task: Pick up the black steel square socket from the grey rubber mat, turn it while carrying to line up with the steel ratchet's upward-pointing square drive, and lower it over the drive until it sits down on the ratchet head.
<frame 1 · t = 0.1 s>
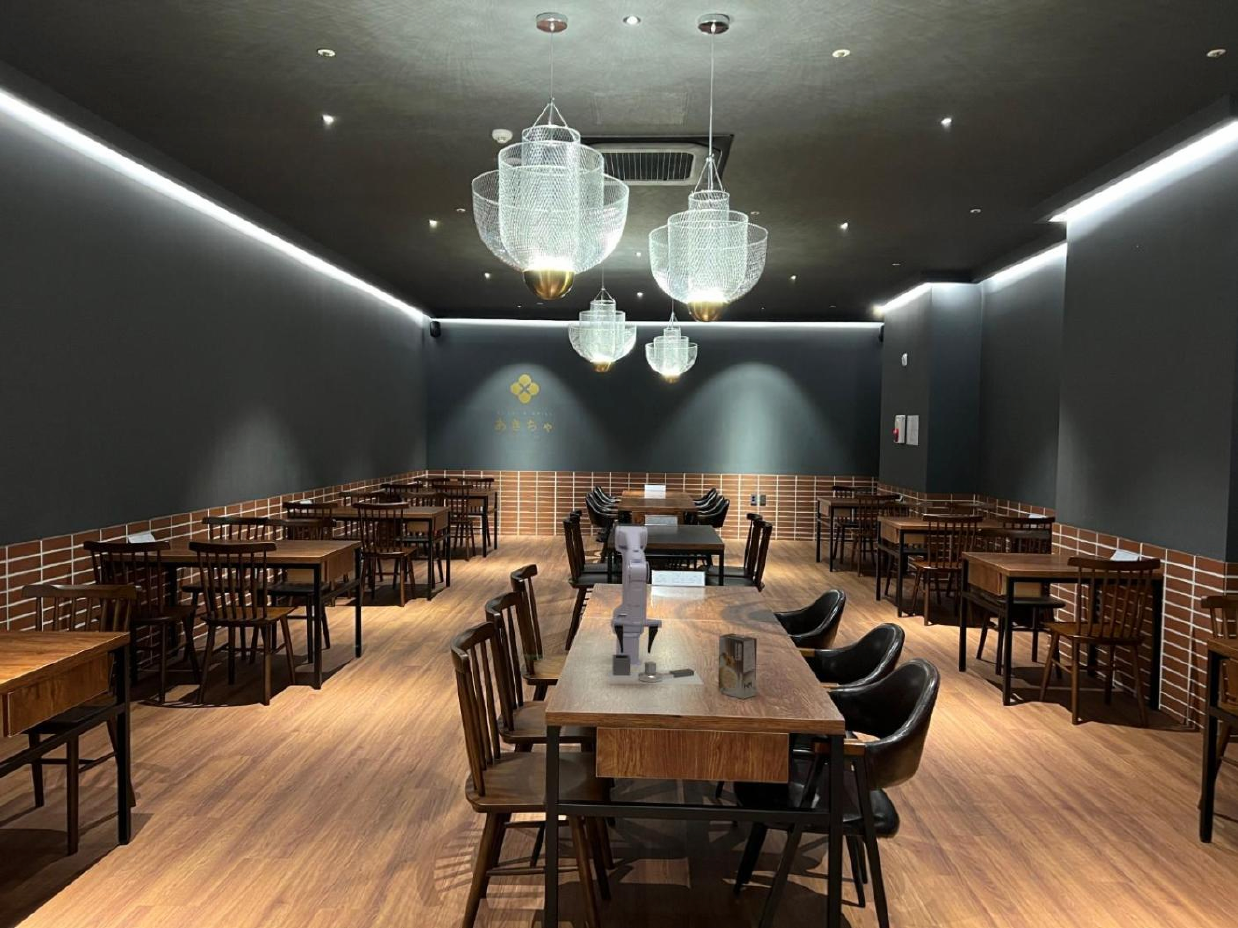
hand: (635, 652, 249), 10 cm above the table, tool pointing down, fingers open, 7 cm apart
socket: (621, 673, 262), resting on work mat
coffee box: (736, 694, 244), on the table
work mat: (654, 678, 259), on the table
ratchet: (650, 679, 256), resting on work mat
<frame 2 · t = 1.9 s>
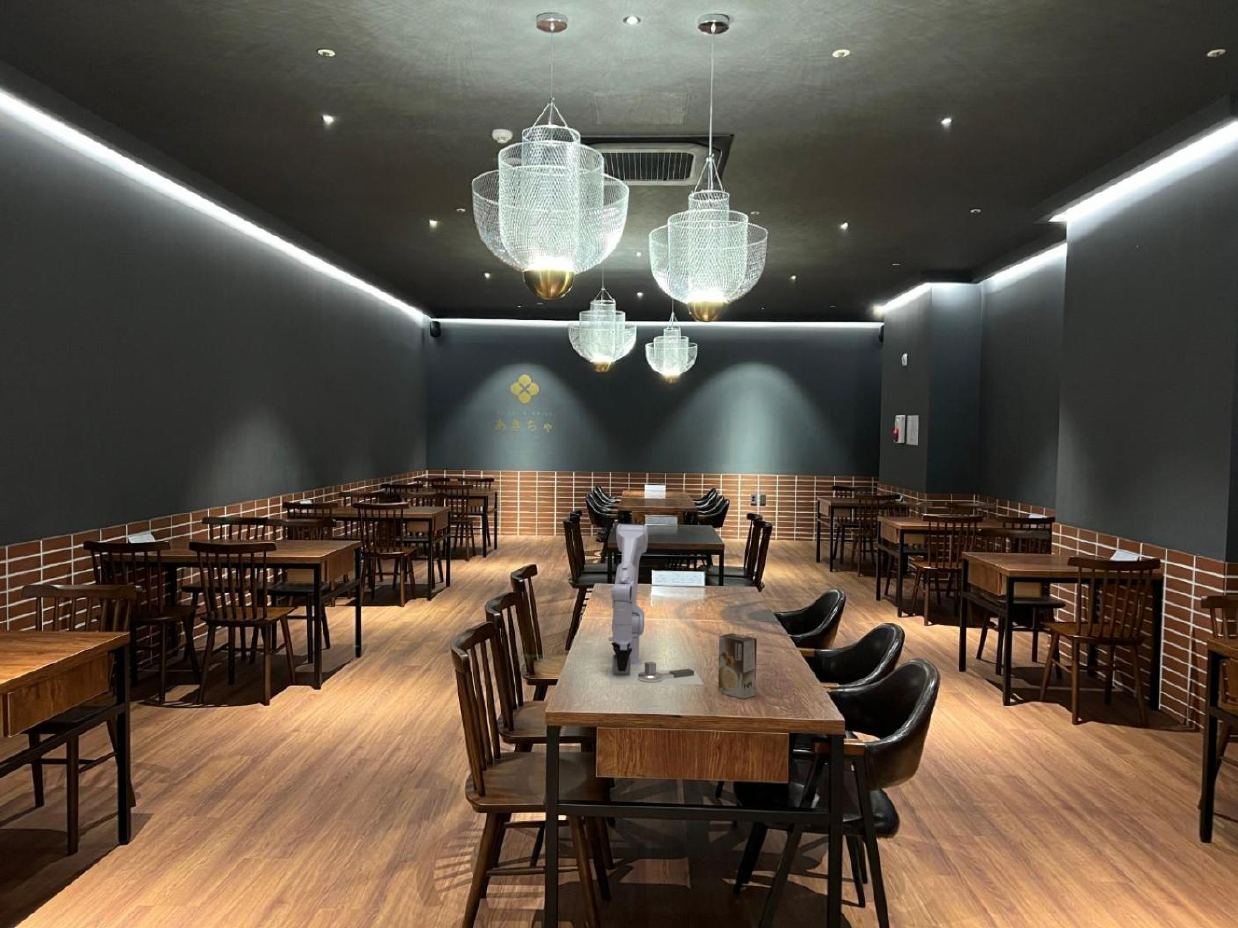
hand: (621, 668, 262), 2 cm above the table, tool pointing down, fingers closed on socket, 5 cm apart
socket: (621, 673, 262), resting on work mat, touching gripper
everything else where it was.
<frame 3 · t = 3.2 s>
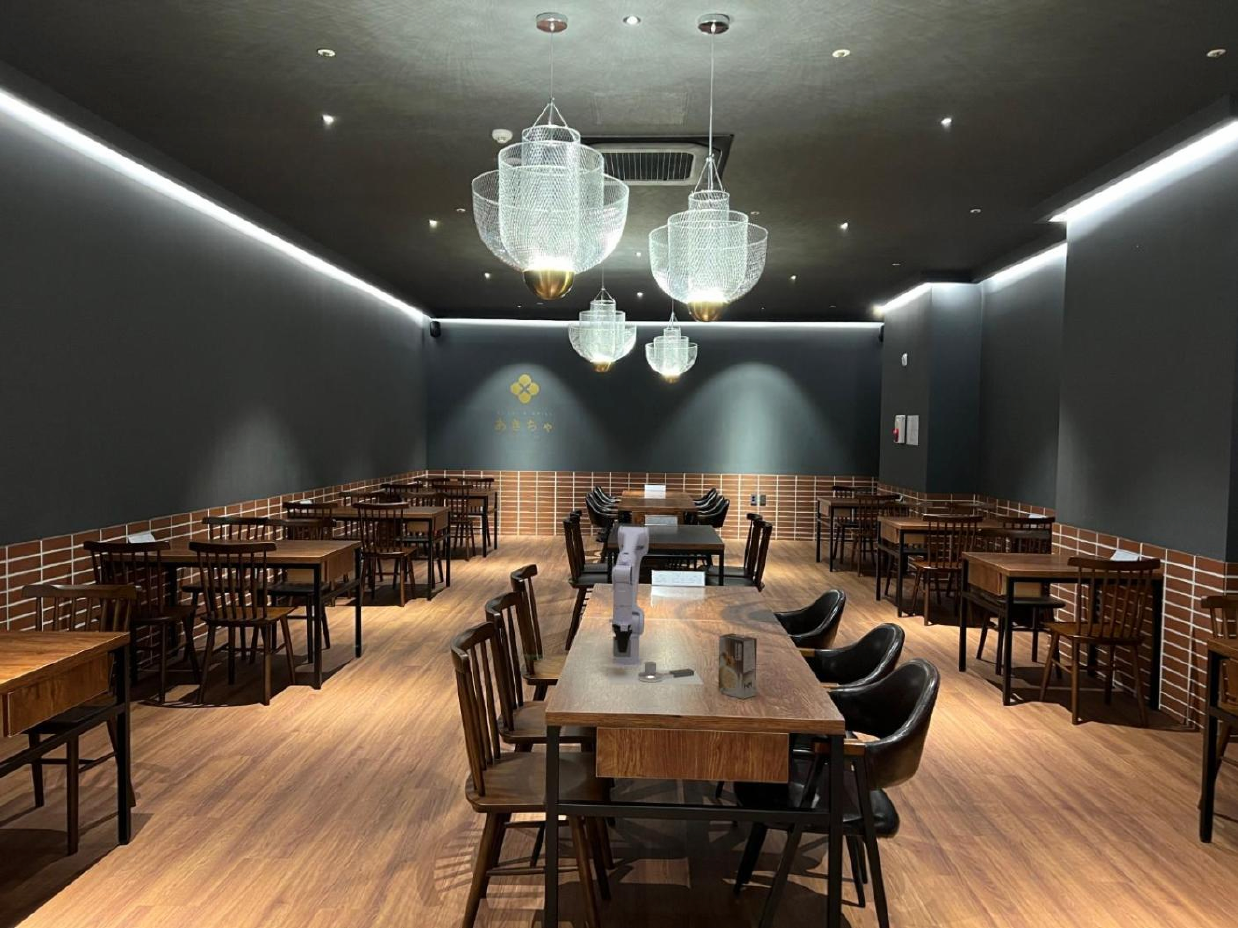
hand: (621, 650, 262), 7 cm above the table, tool pointing down, fingers closed on socket, 5 cm apart
socket: (621, 654, 262), point 6 cm above the table, touching gripper
everything else where it was.
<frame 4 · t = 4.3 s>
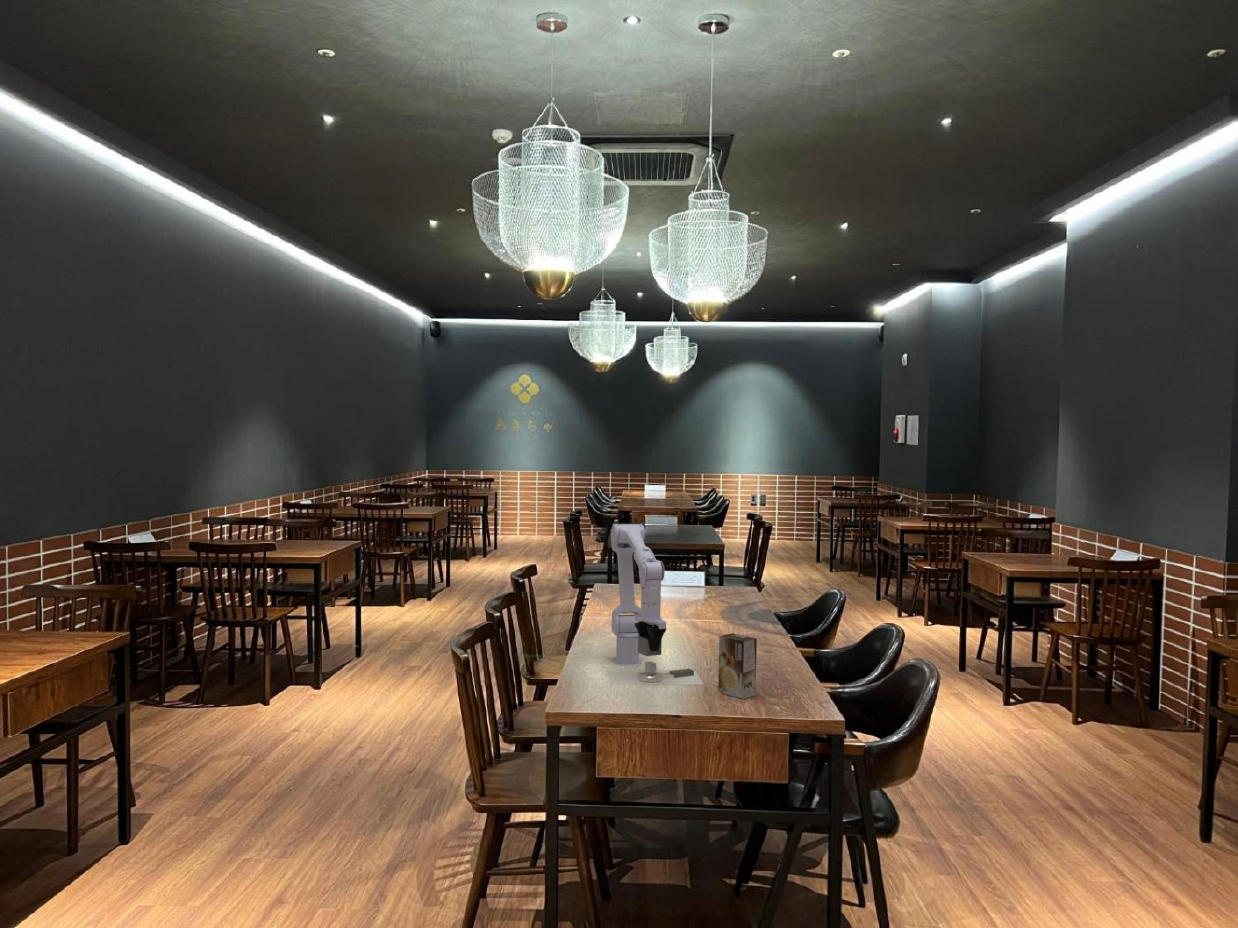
hand: (649, 648, 256), 9 cm above the table, tool pointing down, fingers closed on socket, 5 cm apart
socket: (649, 653, 256), point 8 cm above the table, touching gripper
everything else where it was.
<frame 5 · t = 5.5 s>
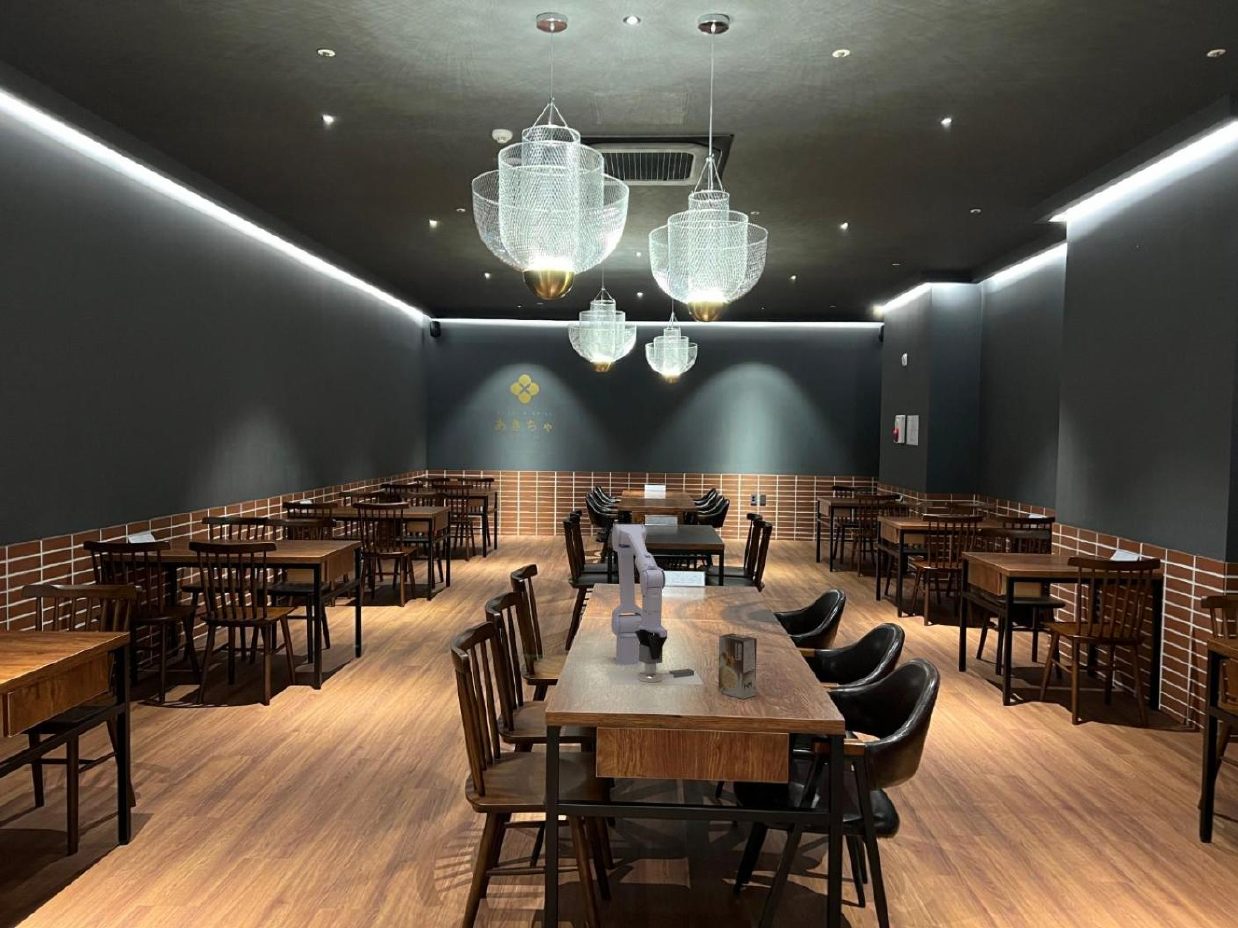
hand: (650, 656, 255), 7 cm above the table, tool pointing down, fingers closed on socket, 5 cm apart
socket: (650, 661, 255), point 6 cm above the table, touching gripper
everything else where it was.
when the fingers open (4 cm above the table, at t = 6.7 s): socket stays where it is, resting on ratchet.
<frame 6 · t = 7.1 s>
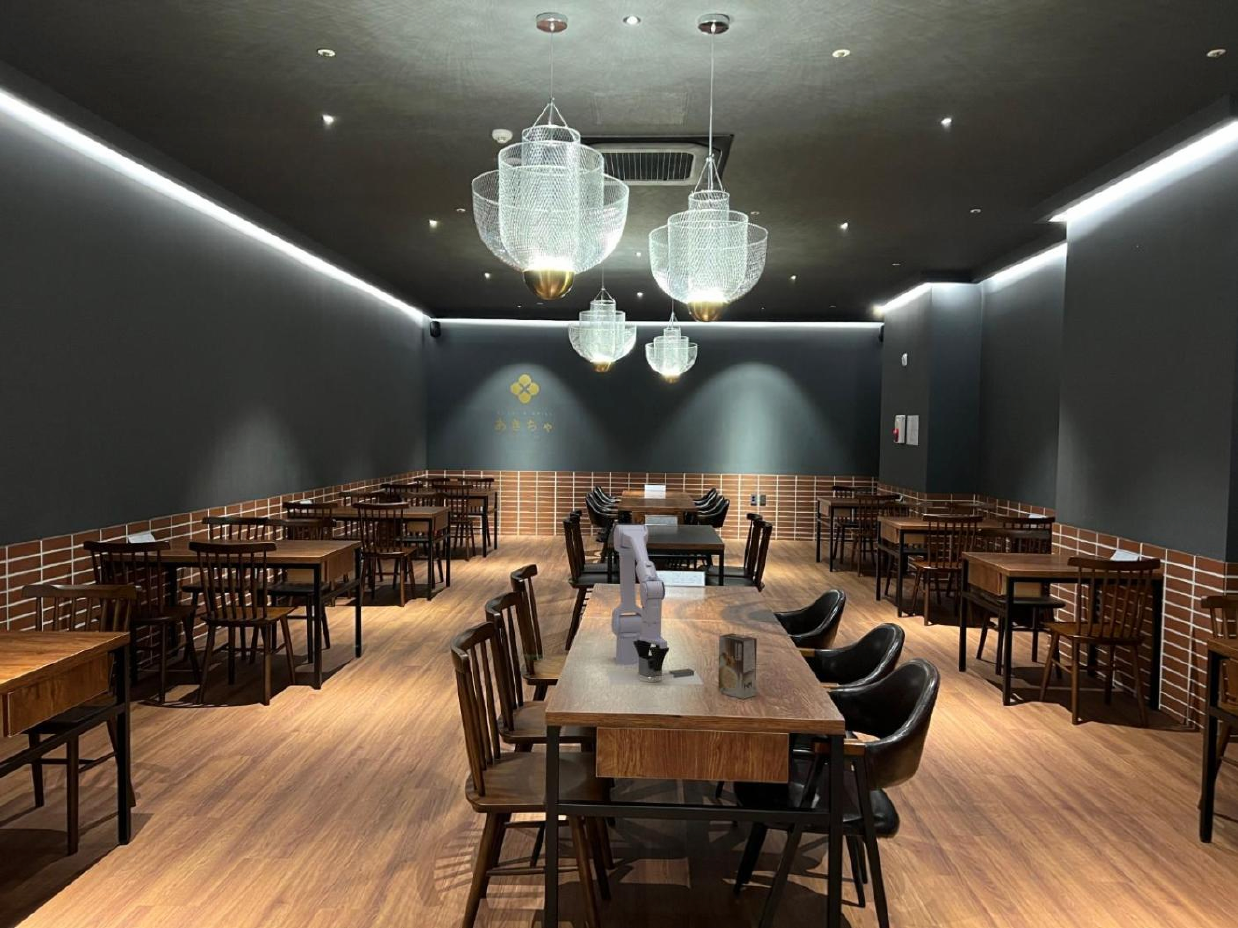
hand: (650, 667, 255), 4 cm above the table, tool pointing down, fingers open, 7 cm apart
socket: (650, 674, 255), point 2 cm above the table, touching ratchet
ratchet: (650, 679, 256), resting on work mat, touching socket
everything else where it was.
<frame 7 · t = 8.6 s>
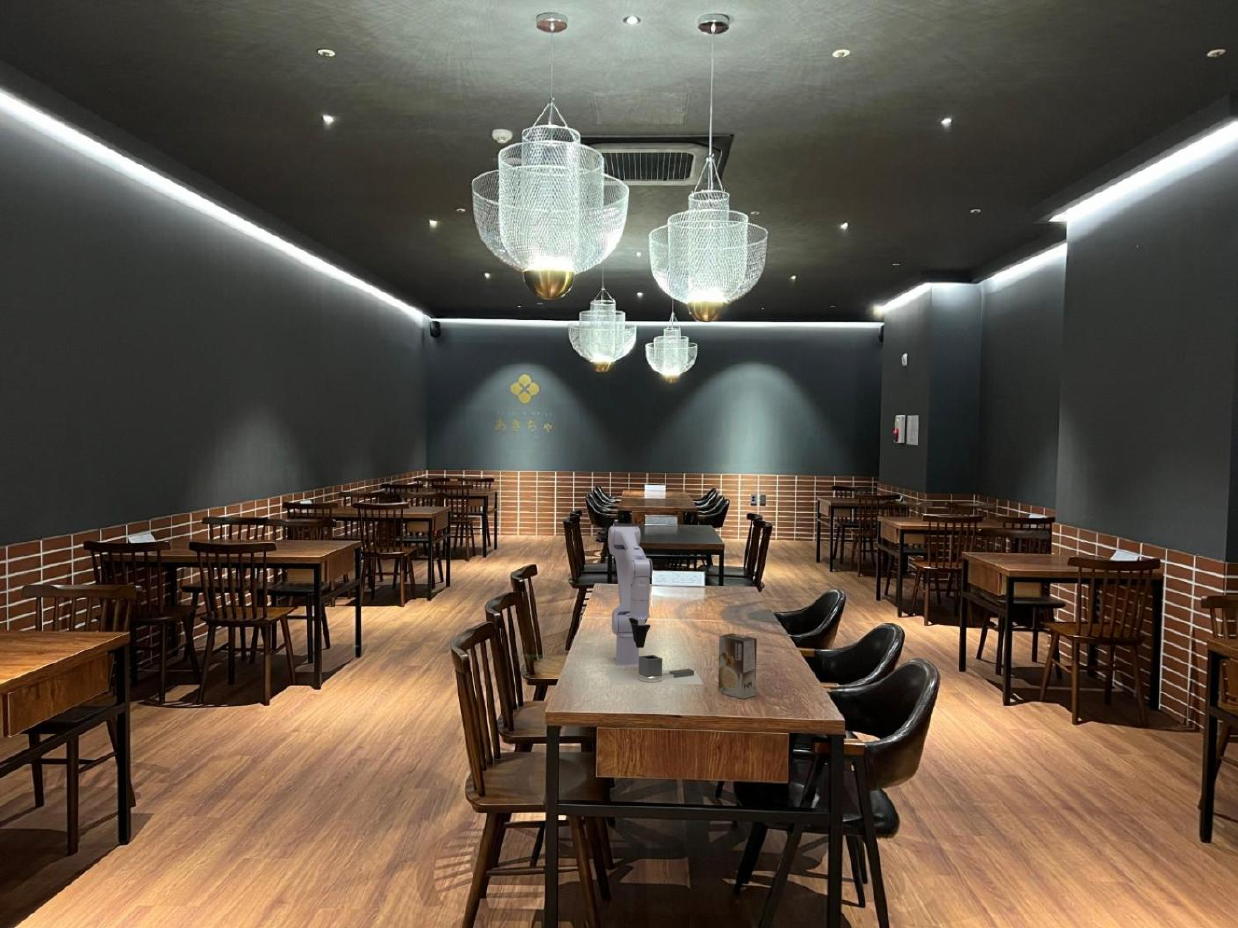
hand: (638, 644, 261), 9 cm above the table, tool pointing down, fingers open, 7 cm apart
nothing on the table moved.
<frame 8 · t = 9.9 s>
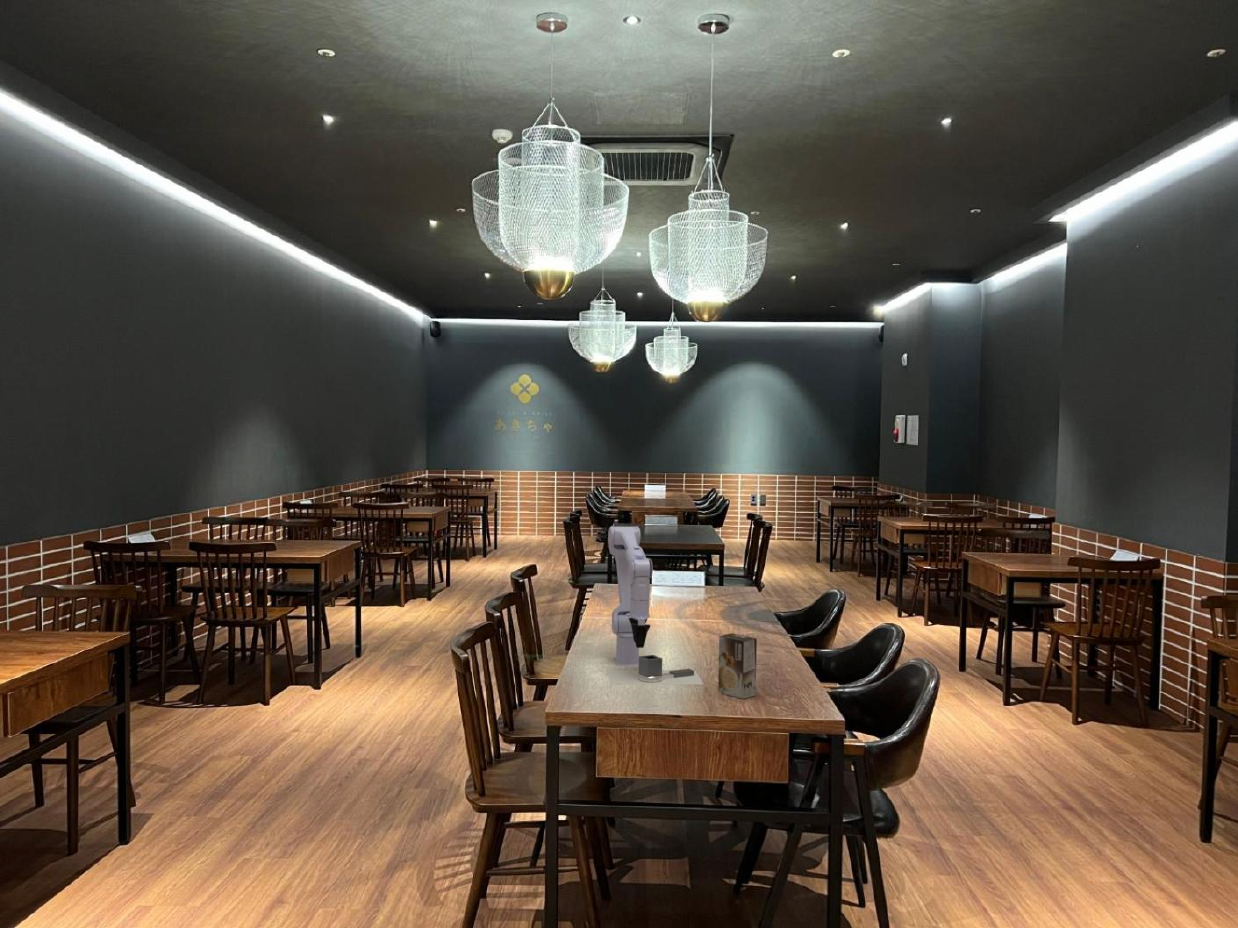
hand: (638, 644, 261), 9 cm above the table, tool pointing down, fingers open, 7 cm apart
nothing on the table moved.
at the end: socket 0.0 cm from the ratchet (horizontally); socket point 2.0 cm above the table; ratchet moved 0.0 cm from its start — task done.
